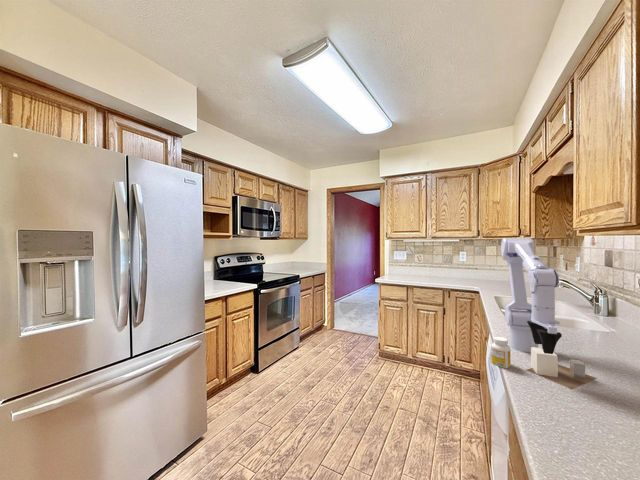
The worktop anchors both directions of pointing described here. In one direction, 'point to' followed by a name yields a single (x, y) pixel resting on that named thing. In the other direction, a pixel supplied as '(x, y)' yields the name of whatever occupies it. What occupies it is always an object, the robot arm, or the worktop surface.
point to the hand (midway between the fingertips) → (543, 348)
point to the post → (577, 369)
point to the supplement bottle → (500, 352)
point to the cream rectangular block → (544, 362)
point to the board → (565, 377)
